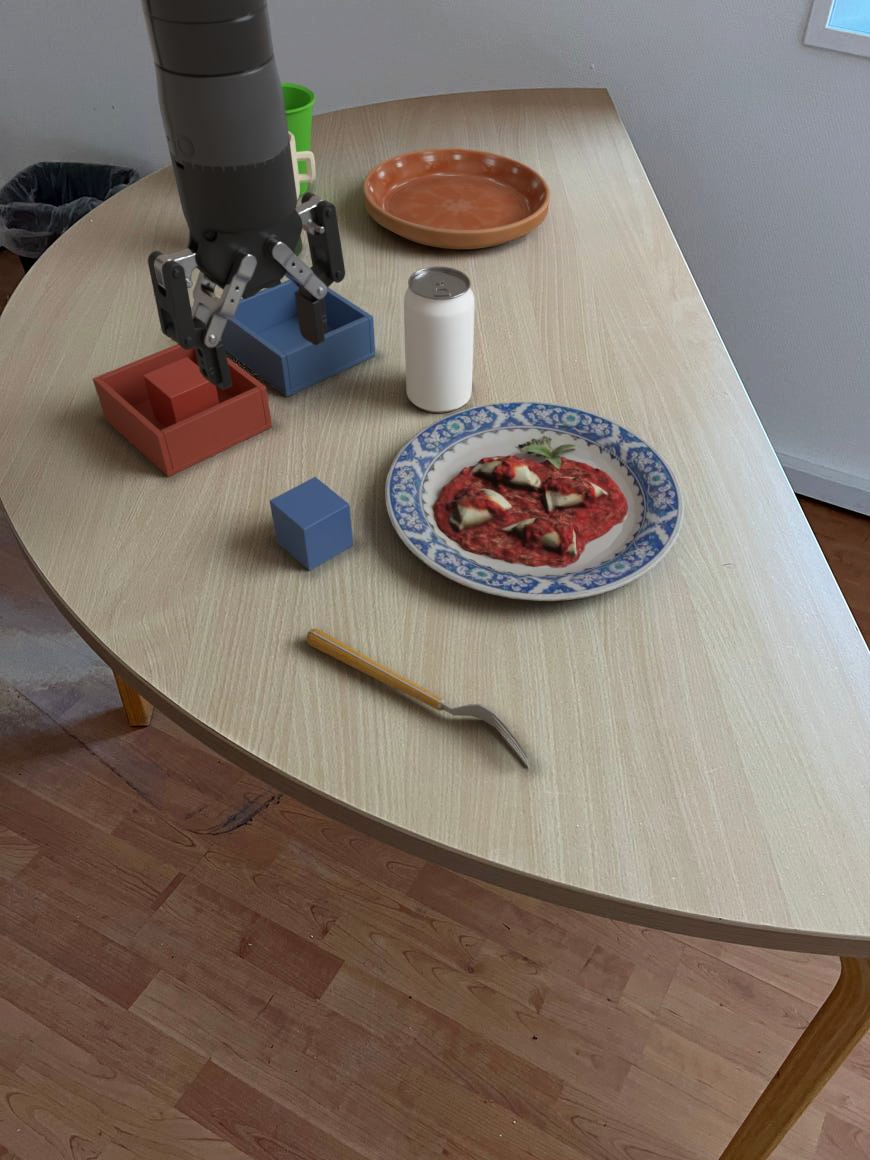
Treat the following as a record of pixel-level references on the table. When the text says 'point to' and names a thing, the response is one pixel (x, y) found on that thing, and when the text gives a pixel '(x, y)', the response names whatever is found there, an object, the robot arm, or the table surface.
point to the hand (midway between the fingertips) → (267, 361)
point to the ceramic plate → (534, 501)
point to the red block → (179, 392)
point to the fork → (404, 683)
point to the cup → (299, 120)
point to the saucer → (456, 197)
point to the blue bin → (296, 338)
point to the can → (439, 339)
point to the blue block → (312, 523)
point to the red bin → (194, 436)
